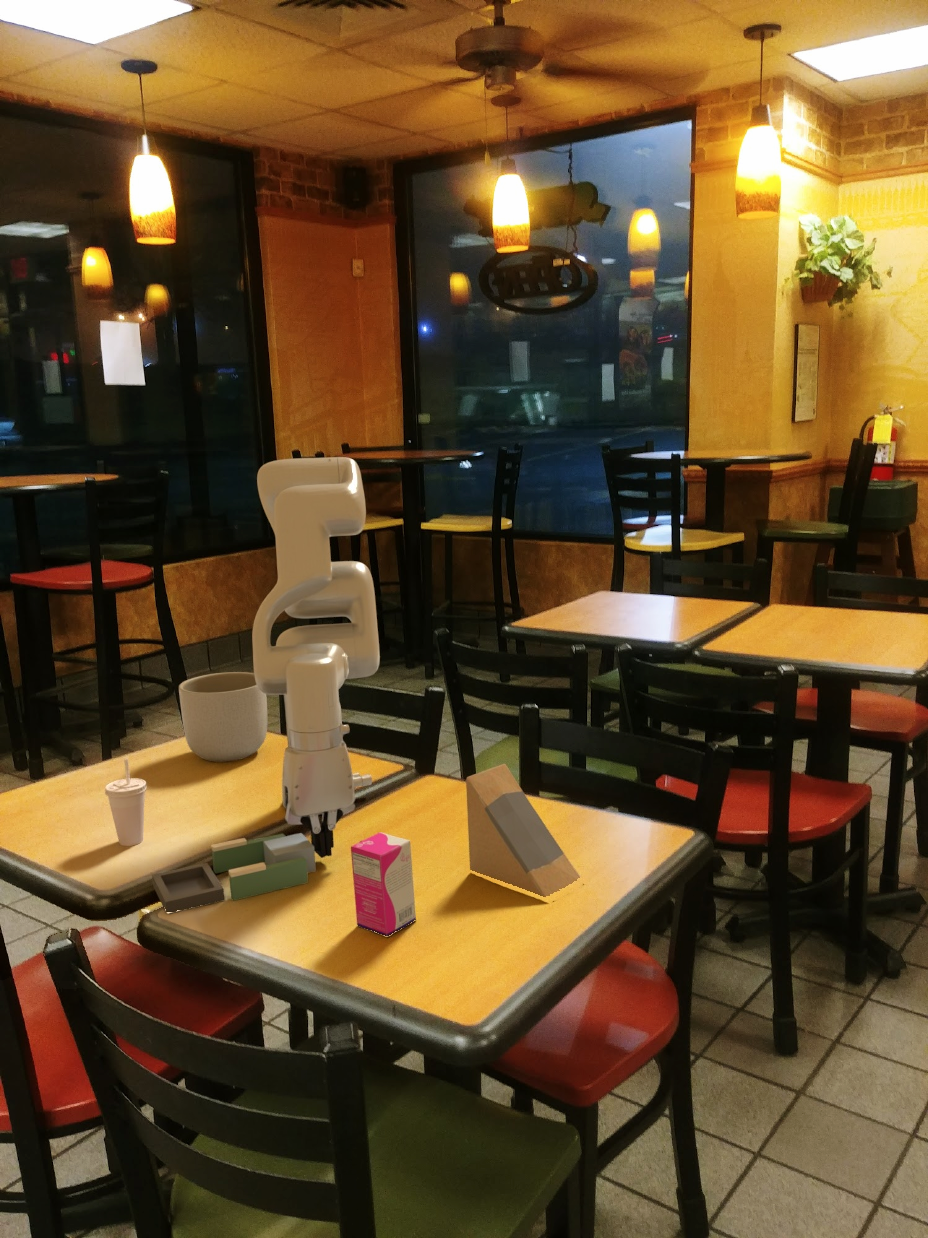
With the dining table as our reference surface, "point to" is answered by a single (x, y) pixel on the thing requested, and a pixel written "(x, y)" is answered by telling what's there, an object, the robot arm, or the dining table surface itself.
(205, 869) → the tray
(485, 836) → the sandwich container
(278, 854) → the block
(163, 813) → the dining table surface
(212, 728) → the planter
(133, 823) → the smoothie
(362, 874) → the supplement box
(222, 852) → the tunnel
